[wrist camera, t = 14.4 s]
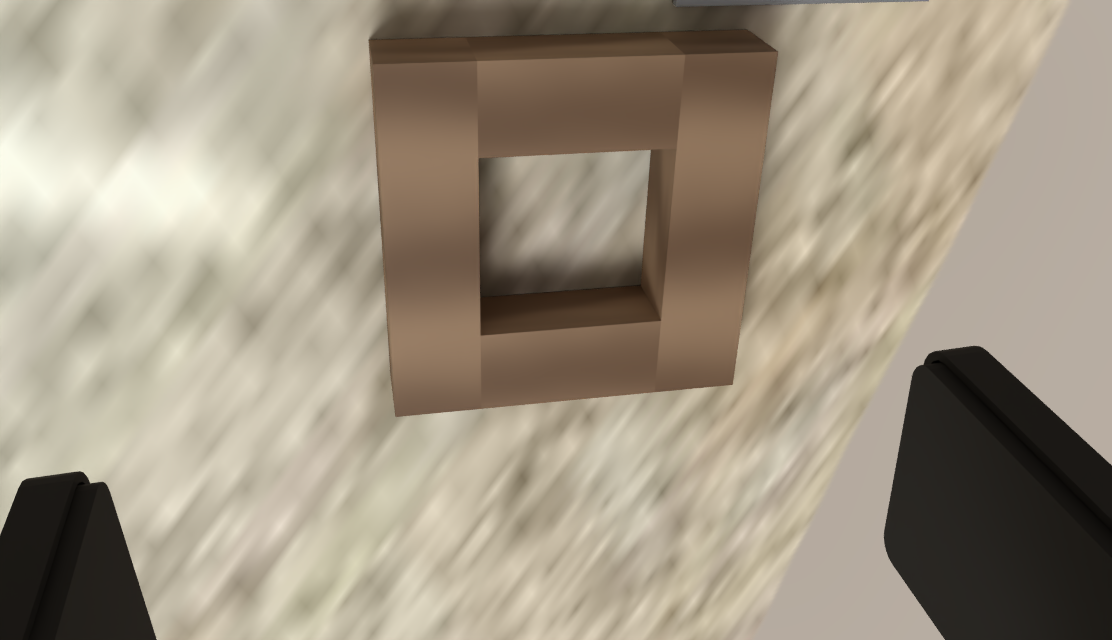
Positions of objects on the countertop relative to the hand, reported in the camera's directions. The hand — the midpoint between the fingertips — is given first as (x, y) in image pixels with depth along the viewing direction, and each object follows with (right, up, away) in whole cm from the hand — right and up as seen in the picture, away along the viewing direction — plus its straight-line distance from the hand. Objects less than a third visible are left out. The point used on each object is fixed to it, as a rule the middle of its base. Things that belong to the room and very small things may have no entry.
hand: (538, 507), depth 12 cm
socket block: (0, +6, +29) cm, 29 cm away
